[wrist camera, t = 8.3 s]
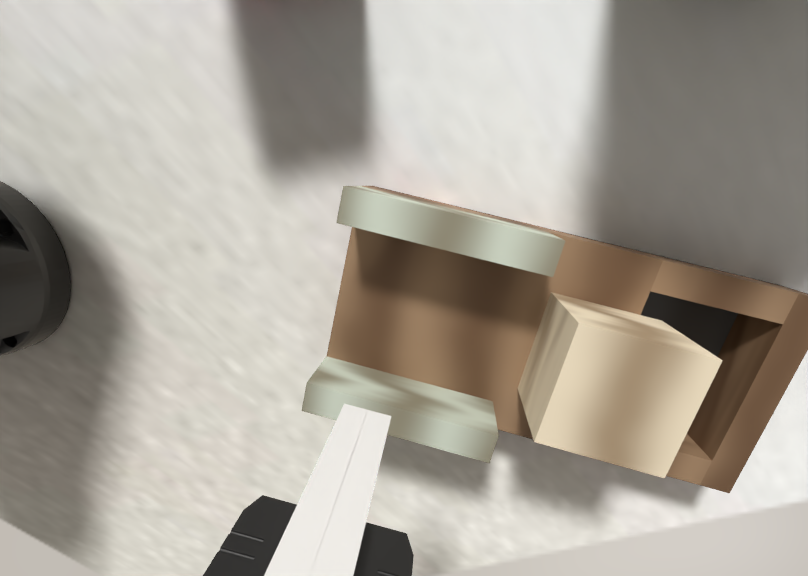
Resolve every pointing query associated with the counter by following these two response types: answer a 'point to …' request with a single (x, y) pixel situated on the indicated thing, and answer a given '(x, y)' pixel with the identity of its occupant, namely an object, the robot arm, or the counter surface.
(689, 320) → the wooden compartment tray
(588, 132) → the counter surface
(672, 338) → the birch block
